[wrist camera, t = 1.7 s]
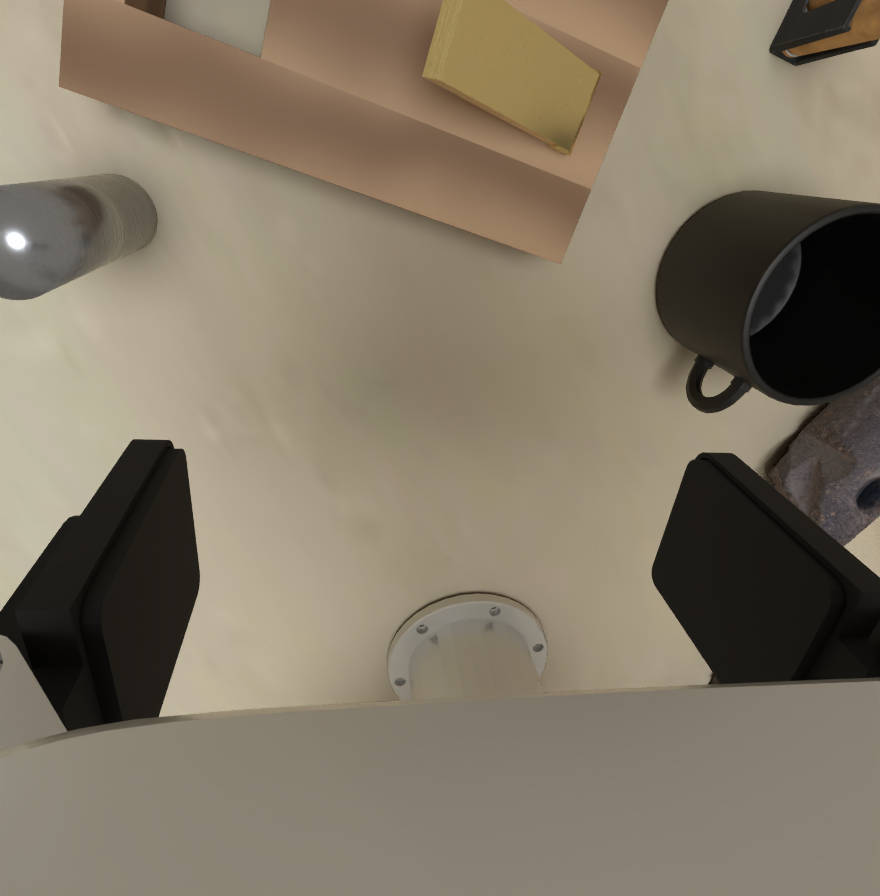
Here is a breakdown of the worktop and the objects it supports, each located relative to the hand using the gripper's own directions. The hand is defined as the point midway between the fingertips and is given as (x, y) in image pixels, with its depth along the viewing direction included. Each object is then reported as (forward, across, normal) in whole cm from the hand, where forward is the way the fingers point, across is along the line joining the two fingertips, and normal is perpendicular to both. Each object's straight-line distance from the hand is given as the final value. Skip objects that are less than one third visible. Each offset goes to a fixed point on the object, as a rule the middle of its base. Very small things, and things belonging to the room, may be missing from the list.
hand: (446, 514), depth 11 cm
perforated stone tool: (+24, -32, +8) cm, 41 cm away
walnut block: (+24, +1, -10) cm, 26 cm away
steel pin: (+24, +13, -1) cm, 28 cm away
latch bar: (+17, -4, -8) cm, 20 cm away
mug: (+24, -20, +1) cm, 32 cm away
